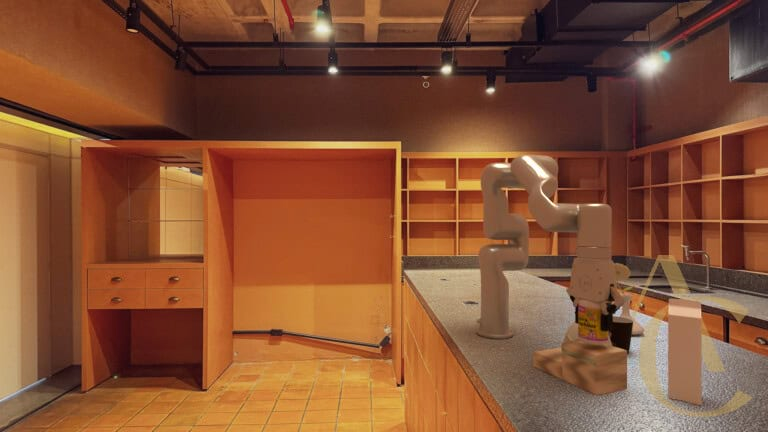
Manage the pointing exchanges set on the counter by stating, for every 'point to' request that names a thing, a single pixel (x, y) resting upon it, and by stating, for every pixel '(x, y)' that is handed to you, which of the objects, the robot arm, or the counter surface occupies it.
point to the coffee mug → (621, 333)
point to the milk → (685, 350)
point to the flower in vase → (626, 297)
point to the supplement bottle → (590, 323)
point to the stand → (586, 365)
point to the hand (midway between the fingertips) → (593, 326)
